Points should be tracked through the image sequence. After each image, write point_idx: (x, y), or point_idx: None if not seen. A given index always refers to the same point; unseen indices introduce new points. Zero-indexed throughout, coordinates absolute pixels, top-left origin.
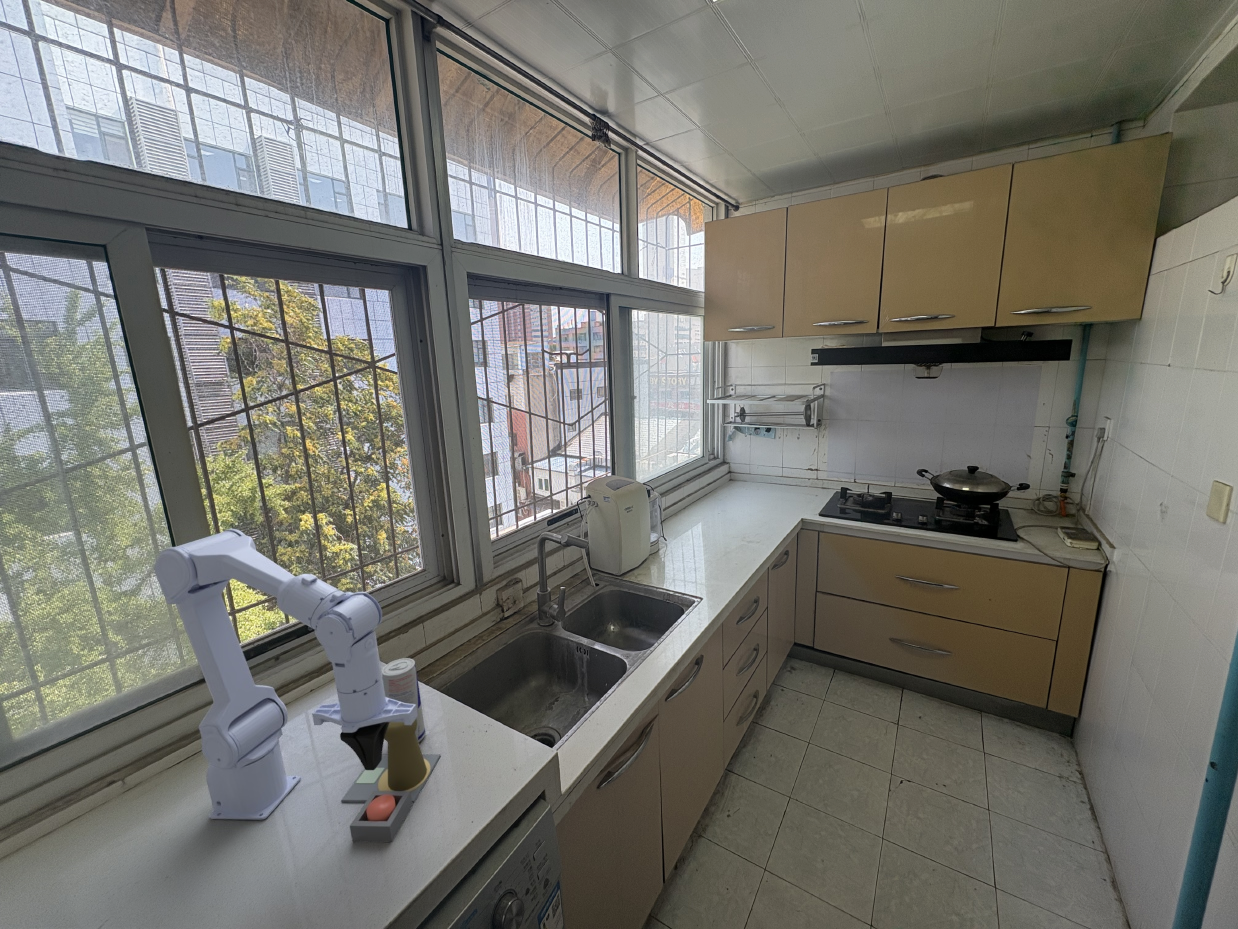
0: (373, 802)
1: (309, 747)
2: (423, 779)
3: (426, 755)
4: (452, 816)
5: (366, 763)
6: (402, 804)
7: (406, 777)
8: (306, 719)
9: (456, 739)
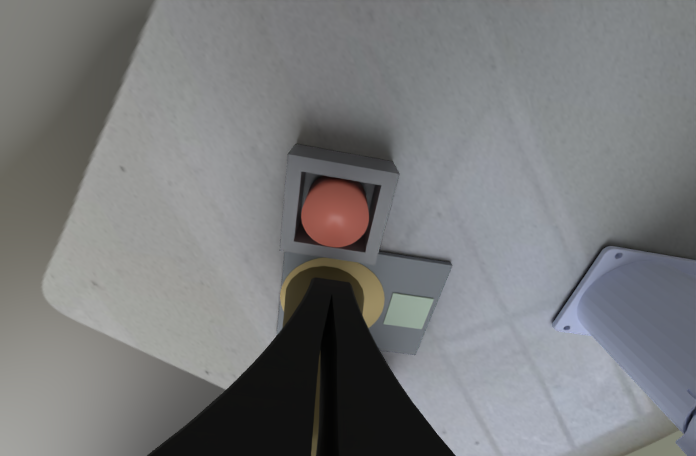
0: (358, 229)
1: (550, 384)
2: (286, 286)
3: None
4: (179, 190)
5: (333, 301)
6: (282, 216)
7: (307, 288)
8: (570, 434)
9: None
